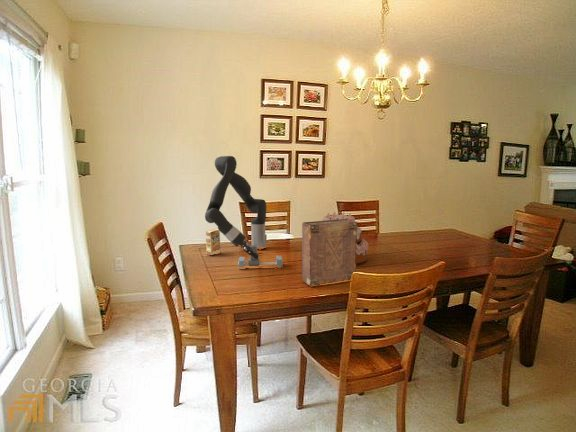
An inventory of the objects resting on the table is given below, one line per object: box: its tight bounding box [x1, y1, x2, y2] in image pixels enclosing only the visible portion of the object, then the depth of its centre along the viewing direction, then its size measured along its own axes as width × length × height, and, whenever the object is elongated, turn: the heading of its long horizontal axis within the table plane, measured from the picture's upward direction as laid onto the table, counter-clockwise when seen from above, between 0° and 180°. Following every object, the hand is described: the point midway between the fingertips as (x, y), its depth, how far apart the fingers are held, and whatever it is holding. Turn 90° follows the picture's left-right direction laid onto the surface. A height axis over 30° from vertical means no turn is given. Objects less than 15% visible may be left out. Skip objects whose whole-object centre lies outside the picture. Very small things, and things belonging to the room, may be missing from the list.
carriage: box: [247, 245, 260, 266], centre depth 205 cm, size 6×6×11 cm
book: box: [301, 219, 358, 286], centre depth 181 cm, size 25×9×30 cm, turn 114°
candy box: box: [205, 228, 221, 252], centre depth 231 cm, size 9×4×15 cm, turn 150°
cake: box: [322, 211, 369, 266], centre depth 221 cm, size 35×35×28 cm
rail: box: [237, 255, 284, 268], centre depth 206 cm, size 25×8×5 cm, turn 96°
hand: (257, 256), depth 205 cm, fingers closed on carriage, 3 cm apart
